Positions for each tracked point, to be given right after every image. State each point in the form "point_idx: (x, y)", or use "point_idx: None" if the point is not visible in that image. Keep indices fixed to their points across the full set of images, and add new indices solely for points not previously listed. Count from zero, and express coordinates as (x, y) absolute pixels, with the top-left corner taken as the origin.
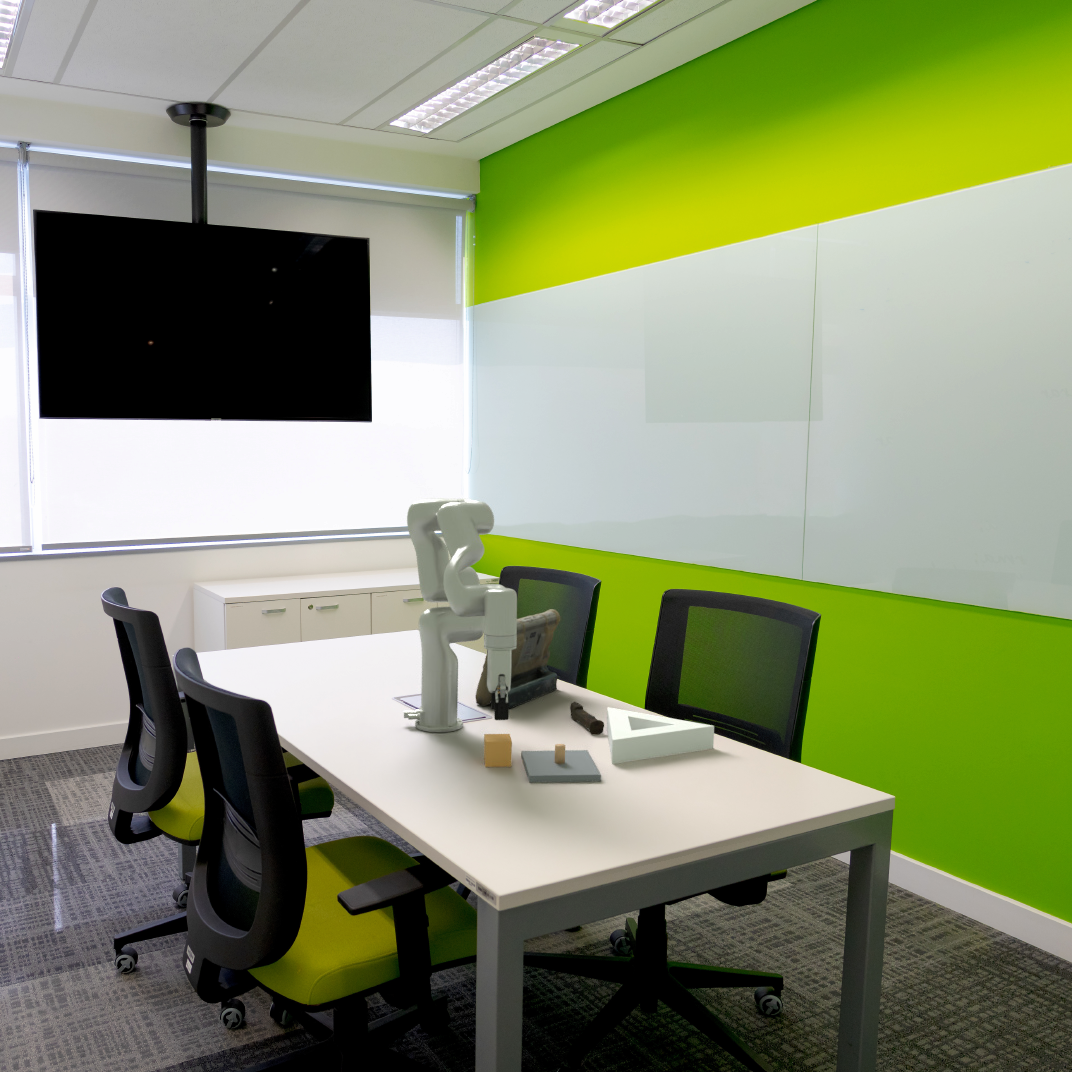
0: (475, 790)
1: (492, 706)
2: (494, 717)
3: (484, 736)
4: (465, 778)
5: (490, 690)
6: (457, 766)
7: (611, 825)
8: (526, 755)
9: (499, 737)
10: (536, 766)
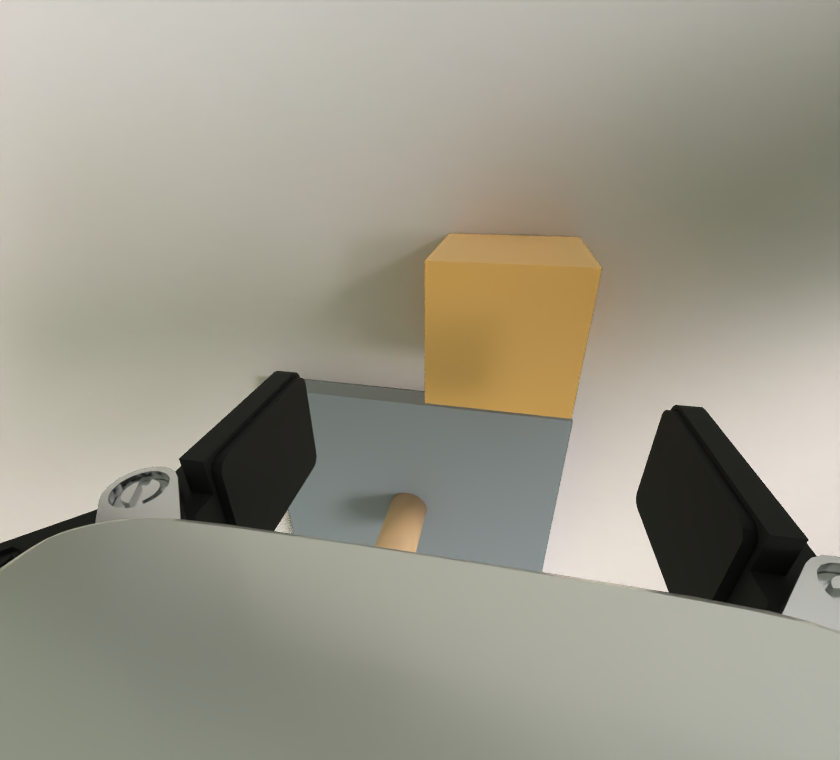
0: (155, 161)
1: (675, 427)
2: (278, 376)
3: (568, 264)
4: (289, 116)
5: (31, 548)
6: (473, 68)
7: (43, 479)
8: (502, 427)
9: (503, 353)
10: (363, 430)
